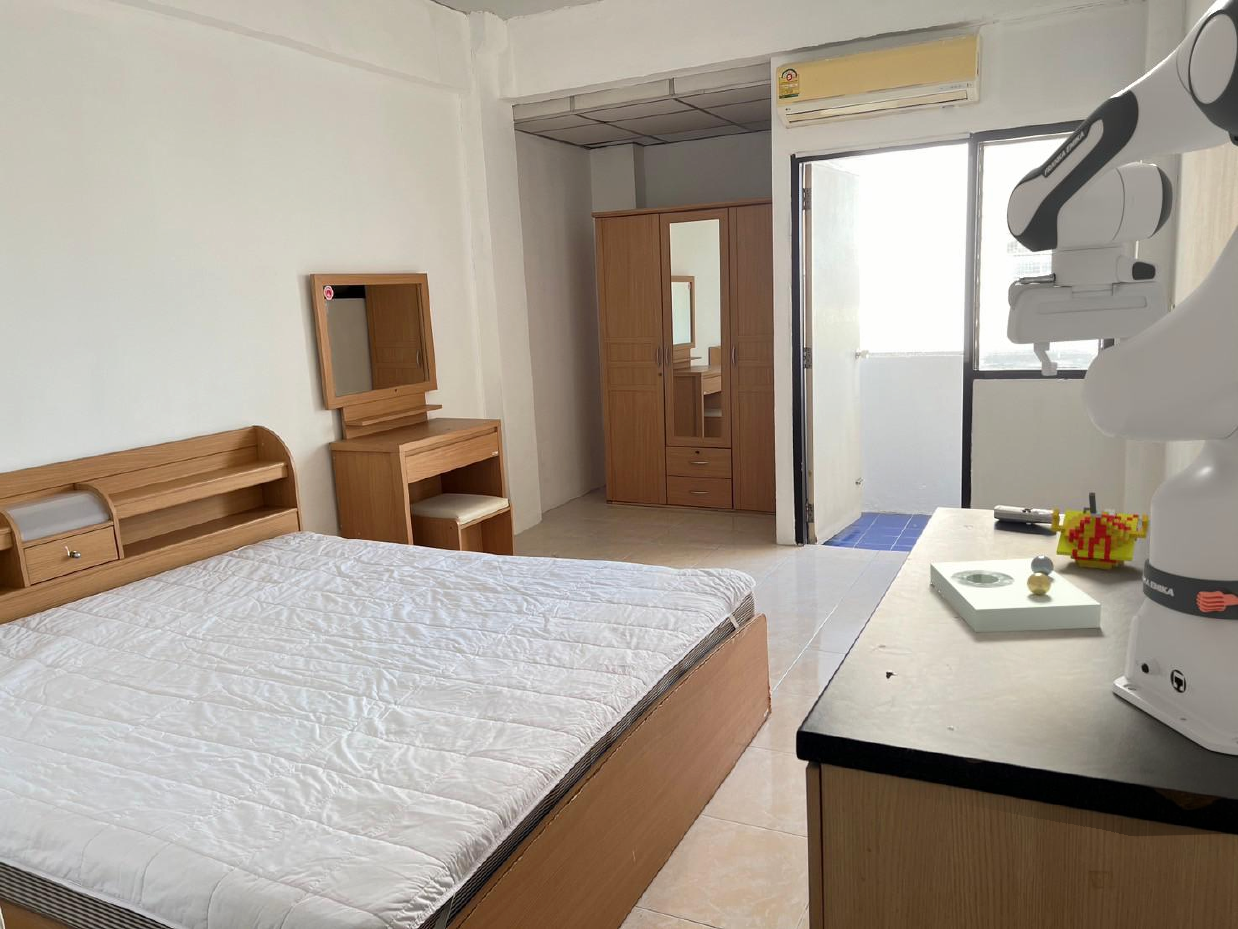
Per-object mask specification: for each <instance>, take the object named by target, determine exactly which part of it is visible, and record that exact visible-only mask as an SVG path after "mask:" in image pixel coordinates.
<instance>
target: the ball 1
mask: <svg viewBox="0 0 1238 929" xmlns="http://www.w3.org/2000/svg"><path fill="white" fill-rule="evenodd" d="M1033 558H1034V559H1033V560H1032V562H1031V569H1032V571H1033V573H1042V574H1045V575H1046V576H1048V575H1049V574H1051V572H1052V571H1054V563H1053V561H1052V559H1051V558H1049V556H1045V555H1038V556H1036V557H1033Z"/></svg>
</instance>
